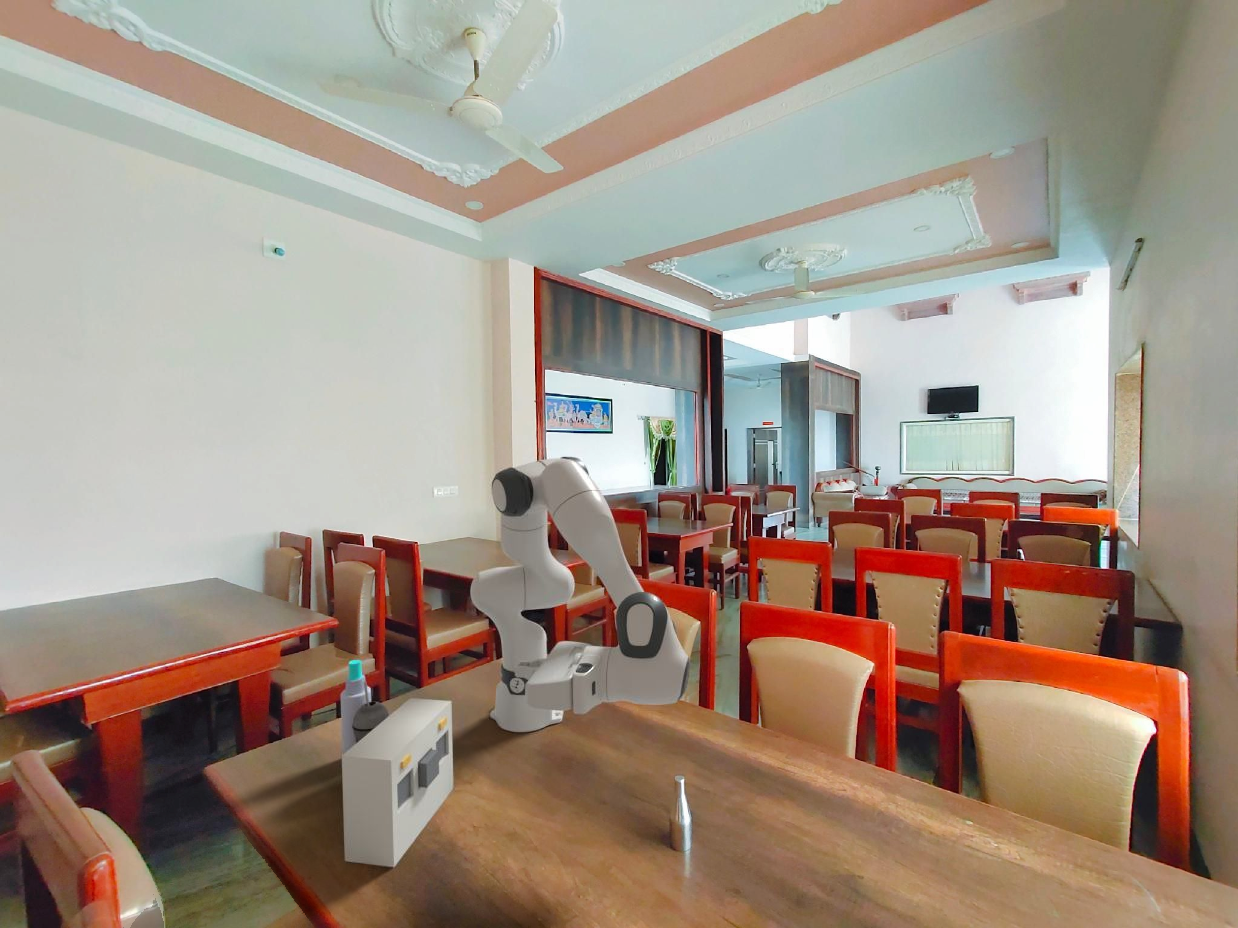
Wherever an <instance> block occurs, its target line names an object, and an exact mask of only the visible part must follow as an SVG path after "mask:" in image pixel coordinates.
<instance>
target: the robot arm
mask: <svg viewBox="0 0 1238 928" xmlns="http://www.w3.org/2000/svg"><path fill="white" fill-rule="evenodd" d="M491 496H492V499H493V502H494V503H493V504H494V505H495V508H496V509H497V511H499V513H500V548H501V550H502V552H503V553H504V554H505V555H506V557H507V558H509V559H510V560H512V561H514V562H516V563H518V564H521V565H517V566H516V565H514V566H499V567H497V566H496V567H492V568H488V569H484V570H481V571H478V573H477V574H476V575H475V576H474V578H473V580H472V582H471V585H470V589H469V590H470V598H471V601H472V603H473V605H474V606H475V607H476V608H477V609H478V610H479V611H480V612H482V613H483V614H485V615H486V616H487V617H489V618H490V619H491V621H493V623H494V625H495V626H496V628H497V630H498V633H499V636H500V641H501V643H500V644H501V652H502V653H501V655H502V662H501V663H502V664H501V665H500V680H501V681H500V682H498V684H496V688H495V705H494V706H495V707H494V709H492V710H491V711H490V714H489V715H490V716H489V717H490V718H491V719H493V720H495V721H496V723H497V725H498V727H500V729H503V730H506V731H509V732H512V733H513V732H514V733H527V732H533V731H537V730H541V729H542V728H545V727H547V726H549V725H553V724H558V723H561V722H562V721H563V716H564V712H565V711H569V710H571V709H572V711H573V713H574V714H576V715H585V714H587V713H588V712H589V711H591V710H592V709H593V708H594V707H596V706H598V705H601V704H602V703H616V702H619V701H625V702H629V703H631V704H634V705H635V704H636V705H647V706H648V705H650V706H652V705H653V706H654V705H655V706H657V705H659V706H660V705H662V706H663V705H671V704H675V703H677V702H679V701H680V700H682V698H683V697H684V695H685V693H686V691H687V688H688V681H689V677H690V669H691V661H690V657H689V656H688V654H687V653H686V651H685V650H684V648H683V647H682V644H681V642H680V641H679V638H678V636H677V635H678V634H677V627H676V624H675V623H674V621H673V620H672V618H671V615H670V612H669V610H668V608H667V606H666V604H665V603H664V602H663V601H662V600H661V598H660V597H659V596H657V595H655V594H653V593H652V592H647V591H644V589H643V587H642V585H641V583H640V582H639V580H638V579H637V576H636V575H635V574H634V571H633V569H631V566H630V565H629V563H628V561H627V558H626V555H625V553H624V549H623V546H622V543H621V539H620V536H619V532H618V531H619V530H618V528H617V524H616V522H615V519H614V516H613V514H612V511H611V508H610V507H609V504H608V501H607V500H606V498H605V496H604V494H603V493H602V492H601V490H600V488H599V487H598V485H597V484H596V483H595V481H594V480H593V479H592V478H591V476H590V473H589V470H588V468H587V466H586V465H585V464H584V462H583V461H582V460H581V459H579V458H578V457H575V456H562V457H561V456H560V458H558V457H557V458H546V459H539V460H535V461H532V462H530V463H524V464H521V465H518V466H515V467H507V468H505V469H503V470H500V471H498V472H497V473H495V475H494V477H493V479H492V481H491ZM548 514H549V515H550V518H551V519H552V522H553V523H554V524H555V526H556V528H557V530H558V531H559V533H560V535H561V536H562V537H563V539H564V540H565V541H566V542H567V544H569V546H570V547H571V548H572V550H573V551H574V552H575V553H576V554H577V555H578V556H579V557H580V558H581V559H582V560H583V561H585V563H586V564H587V565H588V566H589V567H590V568H591V569H592V570H593V572H595V574H596V575H597V577H598V578H599V579H600V580H601V582H602V584H603V585H604V587H605V589H606V591H607V593H608V595H609V596H610V598H611V600H612V601H613V603H614V605H615V607H616V608H617V609H616V613H615V619H614V620H615V629H616V636H617V641H618V645H617V646H614V647H613V646H598V645H592V644H590V643H586V642H578V641H570V640H569V641H568V640H563V641H559V642H557V643H556V644H555V646H554V647H553V648H552V649H551V651H550V653H548V651H547V634H546V630H544V628H543V627H542V626H541V625H540V624H538V623H536V622H534V621H532V620H529V619H527V618H526V617H524V616H522V613H521V612H523V611H527V610H540V609H542V610H543V609H551V608H554V607H559V606H561V605H565V604H568V603H569V602H570V601H571V599H572V597H573V595H574V592H575V586H576V584H575V577H574V576H573V574H572V571H571V570H570V568H568V567H567V566H566V565H564V564H562V563H560V562H559V561H558V560H557V559H556V558H555V557H554V555H552V552H551V550H550V547H549V542H548V541H549V540H548Z"/></svg>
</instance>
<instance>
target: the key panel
mask: <svg viewBox="0 0 1238 928" xmlns="http://www.w3.org/2000/svg"><path fill="white" fill-rule="evenodd" d="M452 706H453V705H452V701H451V700H440V699H428V698H424V699H423V698H415V697H414V698H413V697H410V698H408V700H406V701H405V702H404V703H402V705H401V706H399V707H398V708H397V709H396V710H395V711H393V712H392V713H391V714H389V717H387V718H386V719H385V720H384V721H383V722H381V723H380V724H379V725H378V726H377V727H375V728H374V729H373V730H372V731H371V732H369V733H368V734H367V735H366V736H365V737H363V738H362V739H361V740H360V741H359V742H358V743H356V744H355V745H354V746H353V747H352V748H350V749H349V750H348V751H347V752H346V753H344V754H343V755H341V770H342V772H341V775H342V776H341V777H342V778H341V779H342V809H343V811H342V812H343V843H344V846H343V847H344V861H345V862H351V863H356V864H357V863H358V864H364V865H365V864H366V865H374V866H380V867H389V868H395V867H396V866H397V864H398V863H399V861H400V860H401V859H402V857H403V856H404V855H405V854H406V852H407V851H408V850H409V848H410V847H411V846H412V844H413V843H414V842H415V840H416V839H417V838H418V836H419V835H420V834H421V833H422V832H423V830H424V828H425V827H426V826H427V824H428V823H429V822H430V821H431V819H432V818H433V816H434V815H435V814H436V812H437V811H438V809H439V808H440V807H441V806H442V805H443V803H444V802H445V800H446V799H447V798H448V797H449V795H451V792H452V791H453V790H454V757H453V756H454V755H453V752H454V751H453V714H452V713H453V711H452V708H453V707H452ZM444 734H445V743H446V753H445V755H444V756H443V757H442V758H441V759H440V760H439V774H438V775H437V777H436V778H435V779H434V780H433V781H432V783H431V784H430V785H429V786H428V787H427V788H423V787H418V762H419V761H420V759H421V758H422V757H423V756H424V755H425V754H426V753H427V752H428V751H429V750H430V749H431V750H436V742H437V741H438V740H439V739H440V738H441V737H442V736H443V735H444ZM409 771H410V795H409V796H408V797H407V799H406V800H405V801H404V802H403V803H402V804H401V806H400V807H399V808H398V797H397V784H398V783H399V782H400V781H401V780H402V779H403V778H404V777H405V776H406V775H407V773H408V772H409Z"/></svg>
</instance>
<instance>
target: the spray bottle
mask: <svg viewBox="0 0 1238 928" xmlns="http://www.w3.org/2000/svg"><path fill="white" fill-rule="evenodd" d="M362 673H363V670H362V659H353V660H350V661H349V662H348V677H346V678H345V689H344V690H342V691H341V693H340V717H341V719H340V721H341V750H342V752H341V754H342V755H343V754H344V753H346V752H347V751H348V750H349V749H350V748H352V747H353V746H354V745H355V744H356V738H355V735H354V731H353V728H352V724H353V719H354V716H355V714H356V712H357V710H358V709H359V708H360V707H361V706H362V705H364V704H365V703H366V696H365V689H364V682H366V675H364V674H362ZM367 690H368V698H369V702H372V689H371V687H370V686H368V685H367ZM342 755H341V756H342Z"/></svg>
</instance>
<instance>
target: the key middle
mask: <svg viewBox="0 0 1238 928" xmlns="http://www.w3.org/2000/svg"><path fill="white" fill-rule="evenodd" d="M438 774H439V750H431V749H430V750H429V751H428V752H427V753H426V754H425V755H424V756H423V757H422V758H421V759H420V761H419V762H418V787H423V788H427V787H428V786H429V785H430V784H431V783H432V781H433V780H434V779H435V778H436V777H437V775H438Z"/></svg>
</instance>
